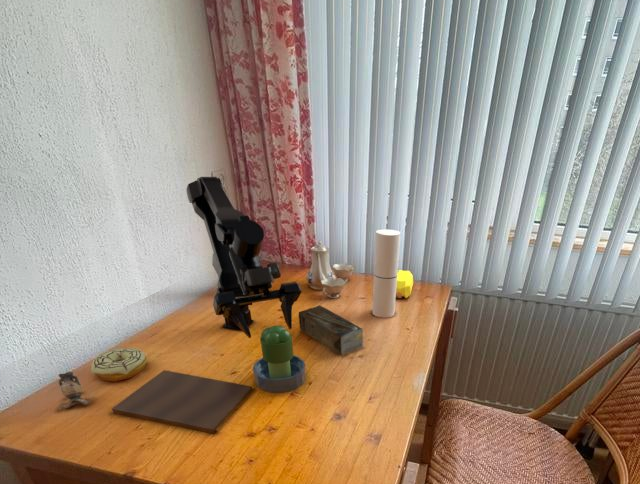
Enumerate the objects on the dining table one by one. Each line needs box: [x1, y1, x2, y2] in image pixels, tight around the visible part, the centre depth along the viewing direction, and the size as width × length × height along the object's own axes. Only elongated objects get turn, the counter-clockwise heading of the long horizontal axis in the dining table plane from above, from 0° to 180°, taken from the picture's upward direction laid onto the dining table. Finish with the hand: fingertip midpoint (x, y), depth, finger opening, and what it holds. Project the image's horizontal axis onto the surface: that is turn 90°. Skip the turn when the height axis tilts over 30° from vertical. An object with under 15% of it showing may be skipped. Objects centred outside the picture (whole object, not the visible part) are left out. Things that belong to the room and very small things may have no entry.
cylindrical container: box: [371, 228, 402, 319], centre depth 117 cm, size 7×7×25 cm
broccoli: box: [260, 325, 294, 379], centre depth 85 cm, size 7×7×13 cm
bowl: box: [252, 354, 307, 394], centre depth 88 cm, size 11×11×4 cm
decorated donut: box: [90, 347, 148, 383], centre depth 87 cm, size 10×11×4 cm
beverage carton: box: [298, 305, 364, 355], centre depth 105 cm, size 8×19×7 cm, turn 45°
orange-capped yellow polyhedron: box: [396, 269, 414, 299], centre depth 139 cm, size 18×7×8 cm
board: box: [111, 369, 254, 435], centre depth 80 cm, size 22×15×1 cm
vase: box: [58, 371, 90, 411], centre depth 77 cm, size 5×5×6 cm
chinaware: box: [305, 240, 355, 299], centre depth 137 cm, size 28×17×17 cm, turn 179°
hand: (270, 333), depth 85 cm, fingers open, 9 cm apart
